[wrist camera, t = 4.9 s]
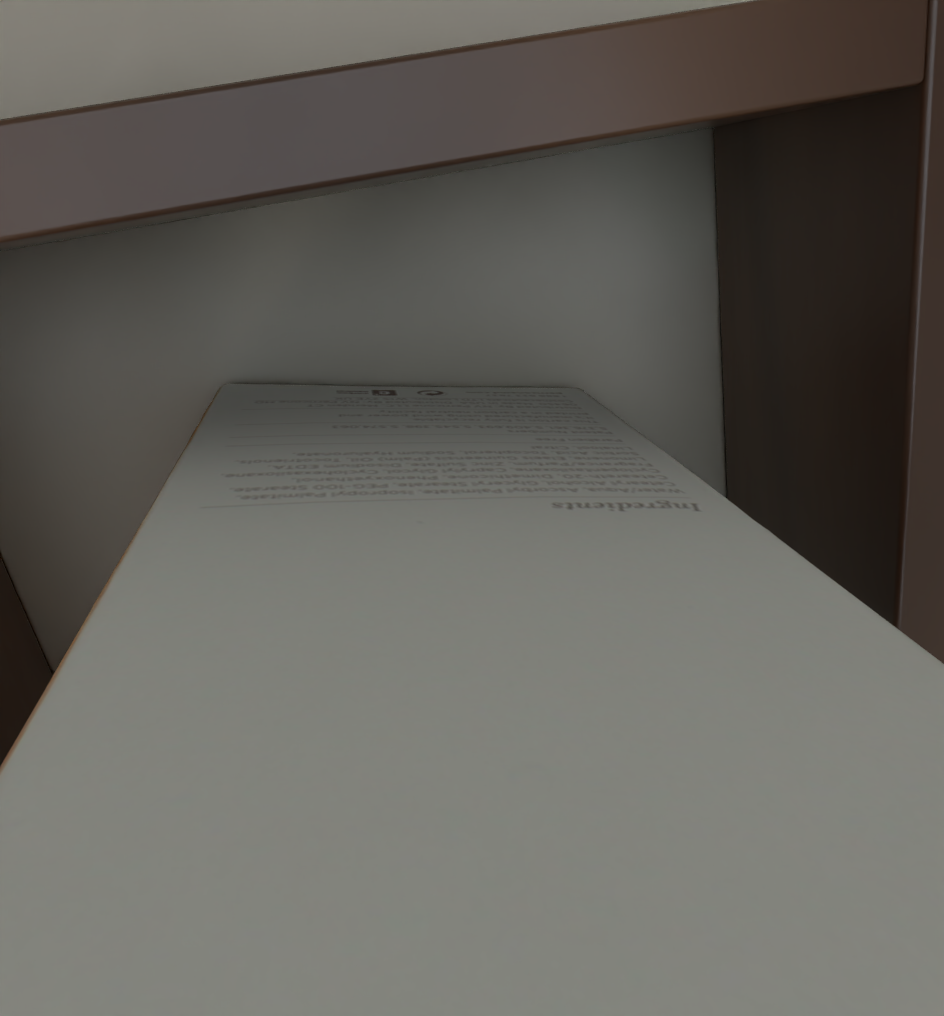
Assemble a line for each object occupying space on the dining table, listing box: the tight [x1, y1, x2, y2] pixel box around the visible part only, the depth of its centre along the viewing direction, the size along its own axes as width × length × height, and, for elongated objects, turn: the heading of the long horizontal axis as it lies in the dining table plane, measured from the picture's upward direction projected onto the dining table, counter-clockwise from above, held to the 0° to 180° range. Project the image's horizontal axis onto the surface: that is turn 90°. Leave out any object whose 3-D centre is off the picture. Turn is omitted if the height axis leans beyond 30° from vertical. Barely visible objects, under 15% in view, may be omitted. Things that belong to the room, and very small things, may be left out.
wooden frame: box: [0, 0, 944, 766], centre depth 12 cm, size 15×16×5 cm
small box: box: [0, 384, 944, 1016], centre depth 9 cm, size 8×6×13 cm
